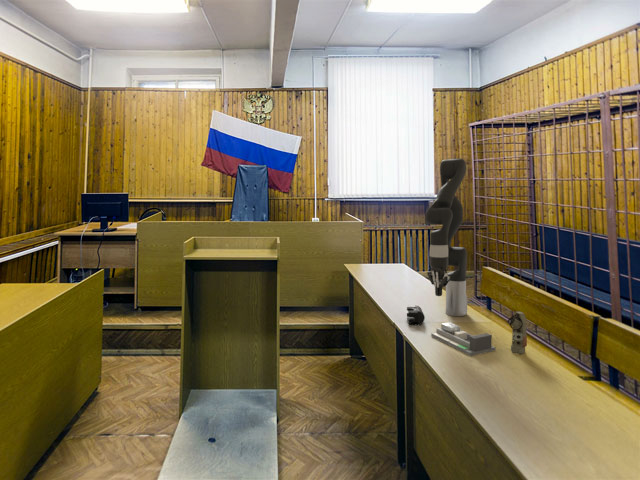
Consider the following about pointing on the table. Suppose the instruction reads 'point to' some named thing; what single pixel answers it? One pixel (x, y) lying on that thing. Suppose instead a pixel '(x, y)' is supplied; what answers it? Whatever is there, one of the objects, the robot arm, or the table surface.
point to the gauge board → (466, 342)
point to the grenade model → (518, 332)
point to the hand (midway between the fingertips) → (438, 295)
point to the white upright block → (461, 335)
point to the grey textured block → (450, 328)
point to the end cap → (415, 315)
